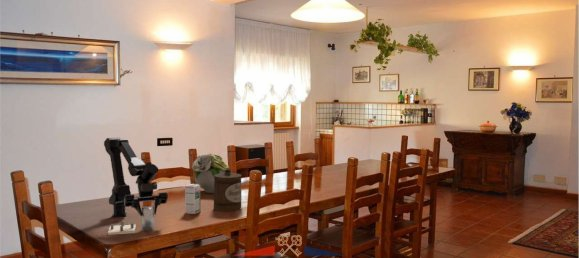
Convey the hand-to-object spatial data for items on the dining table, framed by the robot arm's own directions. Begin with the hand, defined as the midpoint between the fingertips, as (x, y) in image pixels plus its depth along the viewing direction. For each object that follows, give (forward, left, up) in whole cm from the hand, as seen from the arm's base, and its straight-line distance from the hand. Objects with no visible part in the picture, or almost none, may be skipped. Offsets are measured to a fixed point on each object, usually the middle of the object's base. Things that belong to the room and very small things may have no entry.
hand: (148, 215), depth 210 cm
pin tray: (-2, -11, -7) cm, 13 cm away
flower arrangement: (-82, +38, -7) cm, 91 cm away
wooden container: (-35, +41, -7) cm, 54 cm away
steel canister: (-1, 0, -7) cm, 7 cm away
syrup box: (-29, +22, -7) cm, 37 cm away
